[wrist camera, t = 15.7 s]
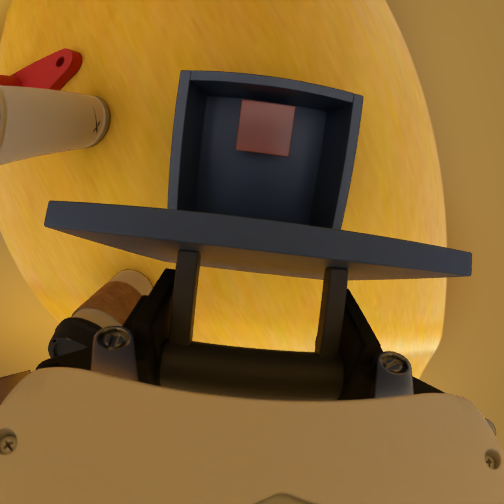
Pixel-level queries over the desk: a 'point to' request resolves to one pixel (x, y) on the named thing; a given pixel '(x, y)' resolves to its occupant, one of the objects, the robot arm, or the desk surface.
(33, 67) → the lever
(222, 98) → the dark grey hollow box
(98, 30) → the desk surface
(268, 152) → the block
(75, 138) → the travel mug
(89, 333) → the coffee cup
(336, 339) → the lid
